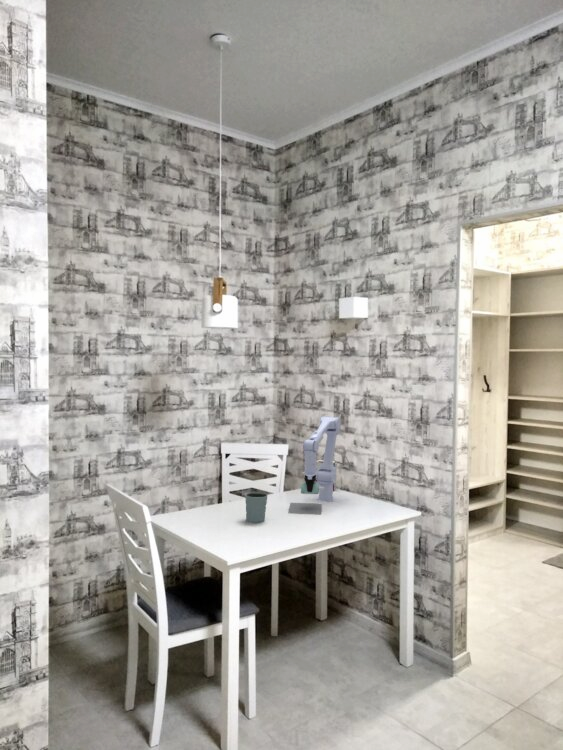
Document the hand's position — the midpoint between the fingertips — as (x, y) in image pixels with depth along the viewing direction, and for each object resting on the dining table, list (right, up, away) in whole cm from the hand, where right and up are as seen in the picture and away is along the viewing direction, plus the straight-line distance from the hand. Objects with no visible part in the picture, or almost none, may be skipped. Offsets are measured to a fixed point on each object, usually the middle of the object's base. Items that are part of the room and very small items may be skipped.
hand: (309, 490), depth 288 cm
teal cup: (-26, -9, -22) cm, 35 cm away
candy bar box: (+11, -8, +42) cm, 44 cm away
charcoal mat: (-2, -9, -1) cm, 9 cm away
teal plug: (+1, -1, 0) cm, 2 cm away
